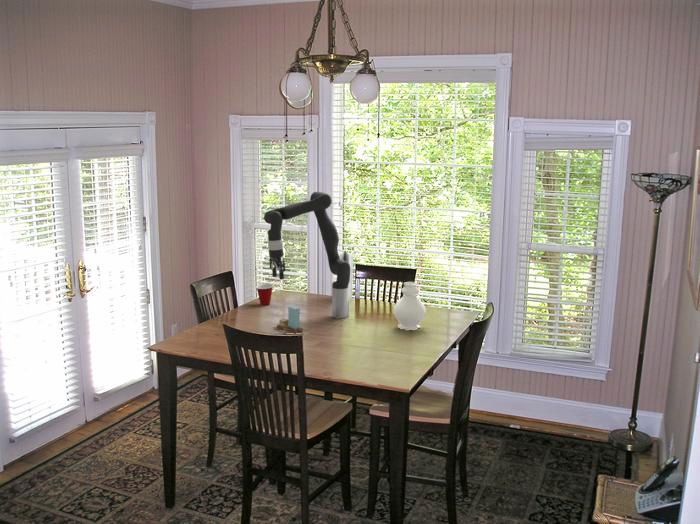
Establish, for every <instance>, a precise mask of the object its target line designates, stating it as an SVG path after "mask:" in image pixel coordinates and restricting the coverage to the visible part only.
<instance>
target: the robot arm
mask: <svg viewBox="0 0 700 524" xmlns="http://www.w3.org/2000/svg"><path fill="white" fill-rule="evenodd" d="M309 197H310V198H309V200H307V201H301V202H293V203H292V204H288V205H286V206H283V207H279V208H273V209H271V210H270V209H269V210H268V211H266V212H265V213H264V216H263V220H264V222H265V223H266V224H269V225H270V229H268V231H267V244H268V257H269V261H268V262H269V269H270V270H271V271H272V273H271V274H272V278H277V276H279V277H278V278H279V280H284V279H285V277H284V273H285V272H286V263H285V260H284V259H283V260H282V258H283V257H284V248H283V247H284V246H283V240H282V229H283V228H282V226H283V221H285V220H289V219H294V218H296V217H299V216H302V215H304V214H308V213H311V212H312V213H314V215H315V216H314V217H316V221H317V224H318V228H319V231H320V236H321V238H322V241H323V245H324V249H325V251H326V255H327V262H328V266H329V270H330V272H331V274H332V275H335V276H336V280H335V281H333V282H332V283H331V287H332V288H331V317H332V318H335V319H345V318H348V317H349V316H350V300H348V284H349V282H350V265H349V263H348V262H347V261H343V260H341V259H340V254H339V251H338V249H339V248H338V247H339V242H340V237H339V232H338V230H337V229H338V228H337V227H336V225H335V223H334V222H333V220H332V219H331V218H330V216H329V214H328V212H327V209H328V208H330V207H331V204H332V201H333V199H332V197H331V195H330V194H329V193H326V192H322V191H314V192H312V193H311V195H310V196H309ZM277 271H278V273H277ZM277 274H278V275H277Z"/></svg>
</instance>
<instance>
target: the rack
mask: <svg viewBox="0 0 700 524" xmlns="http://www.w3.org/2000/svg"><path fill="white" fill-rule="evenodd" d="M272 328H273V329H272V330H274V331H277V332H278V333H280V334H281V333H282V334H283V333H294V334H285V336H288V335H302V336H306V335H310V334H314V333H315V332H314V331H312V330H309V329H307V328H304V327H301V326H299V329H293V328H290V327H288V325H287V326H285V329H283V327H282V326H280V325H279V324H276V326H274V327H272ZM296 333H301V334H296Z"/></svg>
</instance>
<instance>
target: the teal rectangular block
mask: <svg viewBox="0 0 700 524" xmlns="http://www.w3.org/2000/svg"><path fill="white" fill-rule="evenodd" d="M287 310H288V313H287V314H288V315H287V316H288V318H287V319H288V327H290V328H293V329H299V327H300V321H301V320H300V316H301V315H300V307H298V306H295V305H289V306H287Z"/></svg>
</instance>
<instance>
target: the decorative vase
mask: <svg viewBox="0 0 700 524" xmlns="http://www.w3.org/2000/svg"><path fill="white" fill-rule="evenodd" d="M403 285H404V286H403V288H402V289H401V292H402V294H403V296H402V297H401V298H399V300H398V301H397V302H396V303H395V305H394V307H393V315H394V317H395V318H396V320H397V322H399V324H398V325H397V328H398V329H399V328H400V330H402V329H405V330H404V331H409V330H413V331H415V330H414V329H418V328H419V327H420V328H421V325H419V324H420V323H421V322H422V321H423V319H425V317H426V314H427V310H426V309H427V308H426V307H425V304H424V303H423V302H422V300H421V299H420V298H419V297H418V296H417V295H418V294H419V293H420V290H419V288H418V287H417V286H418V282H414V281H405V282H403ZM418 330H419V329H418Z"/></svg>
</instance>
